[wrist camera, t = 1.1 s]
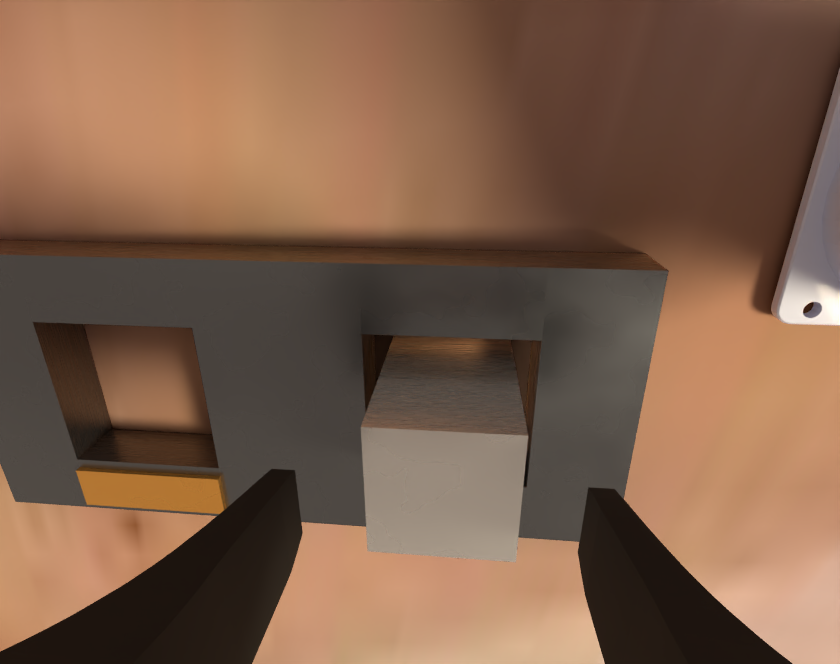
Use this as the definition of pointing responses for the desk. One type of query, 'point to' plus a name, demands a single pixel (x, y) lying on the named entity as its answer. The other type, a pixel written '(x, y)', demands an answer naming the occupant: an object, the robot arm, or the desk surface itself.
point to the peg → (445, 450)
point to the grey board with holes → (312, 366)
